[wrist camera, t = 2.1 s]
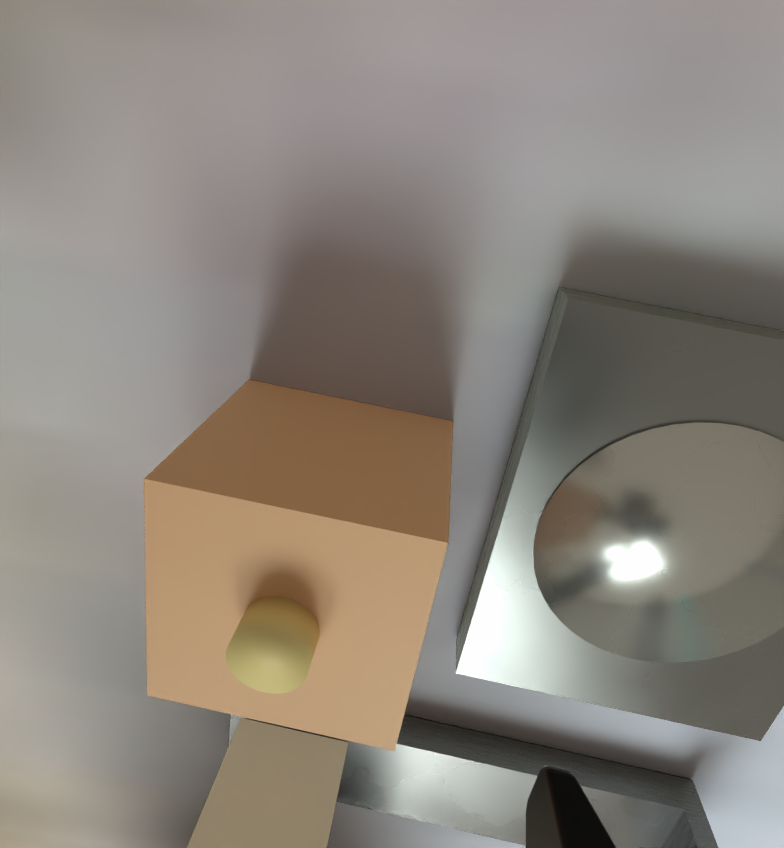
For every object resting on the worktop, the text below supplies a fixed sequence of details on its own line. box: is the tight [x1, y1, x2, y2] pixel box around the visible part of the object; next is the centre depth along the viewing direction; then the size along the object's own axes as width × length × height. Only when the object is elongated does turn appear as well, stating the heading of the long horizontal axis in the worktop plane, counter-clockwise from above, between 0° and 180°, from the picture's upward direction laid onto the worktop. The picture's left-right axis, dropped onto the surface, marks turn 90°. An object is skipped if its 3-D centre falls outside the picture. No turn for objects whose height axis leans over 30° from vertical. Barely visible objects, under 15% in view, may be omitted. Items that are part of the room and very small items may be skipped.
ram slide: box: [187, 718, 348, 848], centre depth 15 cm, size 3×3×4 cm
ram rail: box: [228, 714, 718, 848], centre depth 17 cm, size 3×14×3 cm, turn 80°
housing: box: [144, 380, 453, 751], centre depth 12 cm, size 5×5×6 cm
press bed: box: [456, 287, 784, 741], centre depth 13 cm, size 10×8×1 cm
